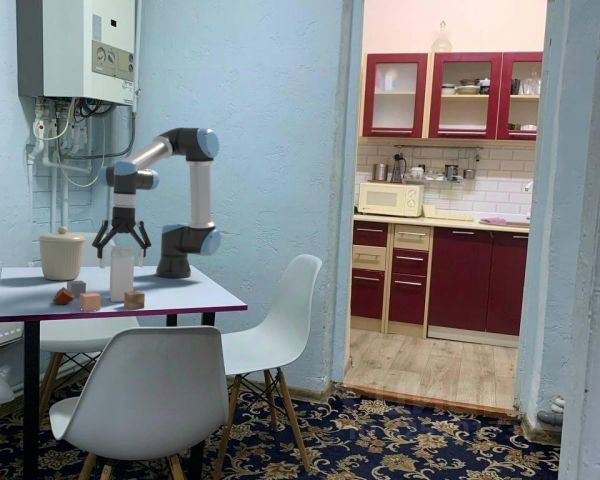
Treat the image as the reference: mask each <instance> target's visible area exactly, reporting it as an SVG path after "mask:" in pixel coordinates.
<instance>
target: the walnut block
mask: <svg viewBox="0 0 600 480" xmlns="http://www.w3.org/2000/svg"><path fill="white" fill-rule="evenodd" d="M145 297H146V293H144V292H142V291H140V290H133V291H128V292H125V293H124V301H123V307H125V308H127V309H128V310H137V309H138V310H139V309H140V310H141V309H145V301H146V300H145Z"/></svg>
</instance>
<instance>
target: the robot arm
mask: <svg viewBox="0 0 600 480" xmlns="http://www.w3.org/2000/svg"><path fill="white" fill-rule="evenodd" d="M219 151H220V141H219V137H218V135H217V134H216V132H215V131H214V130H212V128H211V129H210V128H205V127H176V128H173V129H172V128H171V129H170V130H167V131H165V132H163V133H160V134H159V135H157V136H156V137H154V138H153V139H152V142H150V143H149V144H147V145H146V146H144V147H142V148H140V149H139V150H137V151H136V152H133V153H132V154H131V155H129V156H128V157H125V158H124V159H122V160H117V161H115V163H114V165H112V166H110V165H106V166H104V165H103V166H102V167H100V168H99V169H98V171H97V175H96V176H97V177H96V178H97V181H98V183H99V184H100V185H101V186H103V187H108V188H113V191H112V192H113V193H112V194H113V195H112V205H113V206H112V211H111V212H112V213H111V216H112V219H111V220H107V219H103V220H102V223H101V226H100V229H99V230H98V232H97V234H96V236H95V238H94V240H93V241H92V243H91V246H92V247H94V248H96V249H97V252H96V254H97V255H96V257H97V259H99V268H100V269H105V264H106V262H105V261H106V260H105V259H106V249H105V246H106V245H107V244H108V243H109V242H110V241H111V240H112V239H113V237H115V235H117V234H130V235H131V236H132V237H133V239H134V240H135V242H136V243H137V244H138V246H140V247H138V253H137V267H139V268H144V259H145V258H146V256H147V253H146V252H147V249H148V248H151V247H152V243H151V241H150V238H149V236H148V234H147V231H146V228H145V224H144V223H145V222H144V221H143V220H141V219H139V220H137V221H136V208H135V206H136V205H137V202H136V201H137V190H140V191H142V190H143V191H152V190H153V191H154V190H155V189H157V187H158V186H159V184H160V176H159V174H158V172H157V171H156V170H154V169H149V168H150V167H152V166H153V165H155V164H156V163H158V162H159V161H161V160H162V159H165V160H166V159H169V158H171V157H172V156H174V157H175V156H182V157H183V156H185V162H186V164H188V165H189V192H190V217H191V218H190V219H191V221H190V222H189V223H188V222H186V223H185V222H183V223H169V224H164V225H162V230H161V234H160V235H161V238H160V239H161V240H160V241H161V245H160V259H159V261H158V264H157V267H156V269H155V276H156V277H161V278H169V279H184V277H185V278H188V277H189V276H190V277H191V276H192V275H191V274H192V271H191V267H190V263H189V259H188V257H189V256H188V255H196V256H197V255H198V256H201V257H206V256H207V257H212V256H214V255H215V254H216V253H217V252H218V250H219V248H220V246H221V243H222V234H221V232H220V230H218V229H216V223H215V222H214V221H213V219H212V218H213V217H212V216H213V215H212V186H211V185H212V181H211V178H212V177H211V175H212V174H211V164H212V163H213V162H214V160H215V158H216V157H217V156H218V154H219ZM110 226H111V227H112V228H111V229H110V230H109V232H108V233H107V234H106V232H107V230H108V228H109V227H110ZM135 226H136V227H137V228H138V231H139V233H140V235H141V237H140V236H139V235H138V233H137V232H136V230H135V229H134V228H135ZM105 234H106V235H105ZM104 235H105V237H104ZM103 237H104V238H103ZM141 238H142V239H141ZM190 277H189V278H190Z"/></svg>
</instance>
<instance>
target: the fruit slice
mask: <svg viewBox="0 0 600 480" xmlns="http://www.w3.org/2000/svg"><path fill="white" fill-rule="evenodd" d="M74 299H76V298H75V297H74V295H73V294H72V293H71V292H69V291H68V290H67V288H66V287H64V286H63V287H61V288H60V289H59V290H58V291H57V292H56V294H55V295H54V297H53V298H52V301H53V303H55V304H58V305H64V304H65V305H66V304H67V303H70V302H72V301H73V300H74Z"/></svg>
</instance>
